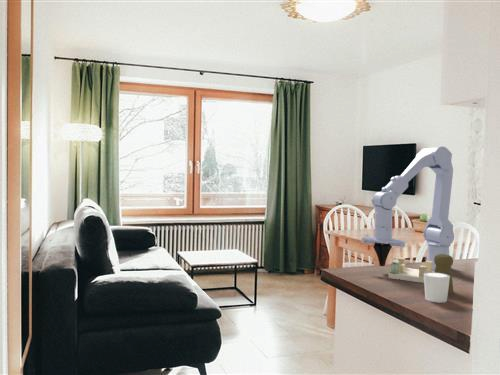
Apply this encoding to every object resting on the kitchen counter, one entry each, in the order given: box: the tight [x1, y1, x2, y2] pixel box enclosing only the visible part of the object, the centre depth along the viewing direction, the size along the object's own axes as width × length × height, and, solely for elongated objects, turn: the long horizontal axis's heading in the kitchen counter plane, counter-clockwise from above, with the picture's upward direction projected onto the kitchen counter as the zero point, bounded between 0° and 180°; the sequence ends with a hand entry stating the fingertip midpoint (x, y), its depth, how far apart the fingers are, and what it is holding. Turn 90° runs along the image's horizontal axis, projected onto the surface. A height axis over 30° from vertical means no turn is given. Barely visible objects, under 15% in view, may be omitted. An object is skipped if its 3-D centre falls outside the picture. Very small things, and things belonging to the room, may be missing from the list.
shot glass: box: [423, 271, 450, 304], centre depth 126 cm, size 7×7×7 cm
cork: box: [434, 254, 454, 295], centre depth 135 cm, size 6×6×11 cm
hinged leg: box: [390, 259, 399, 273], centre depth 154 cm, size 9×2×3 cm, turn 159°
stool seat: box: [388, 257, 435, 284], centre depth 152 cm, size 12×12×5 cm
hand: (382, 265), depth 158 cm, fingers closed
